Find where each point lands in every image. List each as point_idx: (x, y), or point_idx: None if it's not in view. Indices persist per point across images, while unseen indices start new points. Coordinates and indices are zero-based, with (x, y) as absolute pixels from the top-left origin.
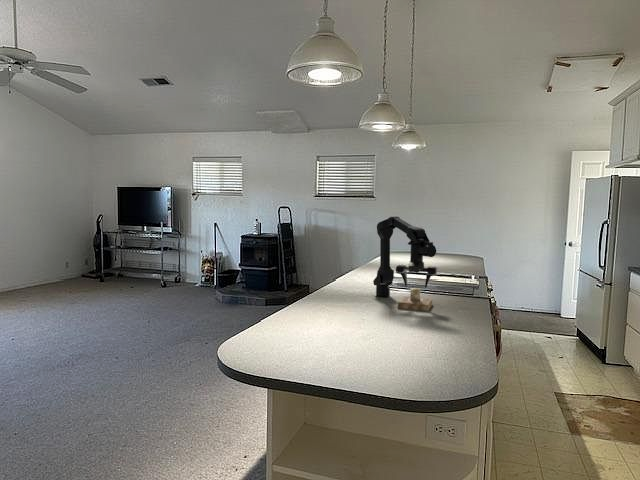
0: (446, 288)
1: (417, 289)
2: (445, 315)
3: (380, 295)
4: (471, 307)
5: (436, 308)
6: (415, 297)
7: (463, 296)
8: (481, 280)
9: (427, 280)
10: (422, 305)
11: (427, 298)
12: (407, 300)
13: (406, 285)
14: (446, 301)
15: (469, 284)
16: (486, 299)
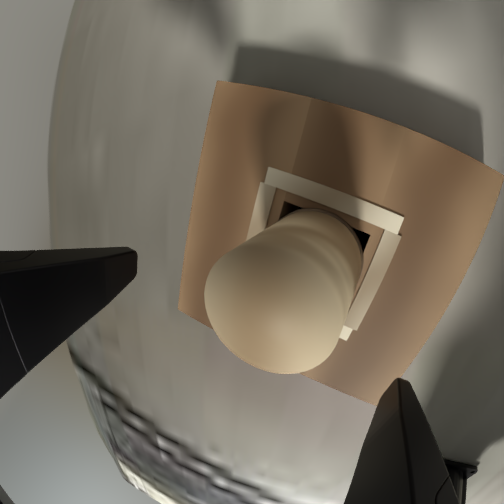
0: (168, 474)
1: (242, 283)
2: (161, 33)
3: (457, 472)
4: (72, 233)
5: (185, 199)
6: (308, 218)
7: (114, 393)
8: (120, 471)
9: (20, 255)
10: (267, 89)
11: (205, 318)
12: (396, 243)
13: (397, 390)
14: (146, 350)
15: (130, 467)
16: (66, 340)
